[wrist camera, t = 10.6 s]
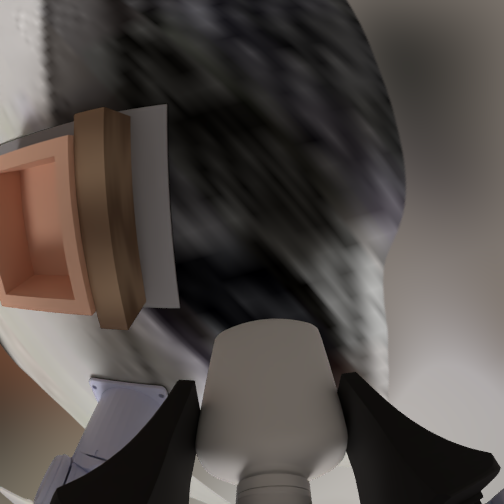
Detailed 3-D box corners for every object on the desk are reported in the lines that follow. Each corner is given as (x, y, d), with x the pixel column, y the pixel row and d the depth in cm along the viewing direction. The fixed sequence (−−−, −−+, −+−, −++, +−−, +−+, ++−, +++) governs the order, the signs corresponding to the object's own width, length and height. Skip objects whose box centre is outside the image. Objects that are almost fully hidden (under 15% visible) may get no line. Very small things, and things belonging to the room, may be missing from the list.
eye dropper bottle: (295, 381, 16) (317, 570, 5) (207, 354, 16) (164, 560, 4) (330, 327, 15) (399, 542, 4) (233, 293, 14) (195, 553, 3)
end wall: (146, 301, 20) (128, 330, 16) (122, 300, 20) (100, 328, 16) (130, 116, 16) (103, 106, 12) (104, 121, 16) (74, 114, 12)
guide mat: (180, 306, 20) (179, 308, 20) (-20, 294, 20) (-21, 294, 20) (167, 104, 16) (166, 104, 16) (-41, 163, 16) (-42, 164, 15)
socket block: (118, 286, 19) (91, 315, 15) (32, 283, 19) (2, 306, 15) (103, 138, 16) (67, 134, 12) (15, 160, 16) (-23, 164, 12)
